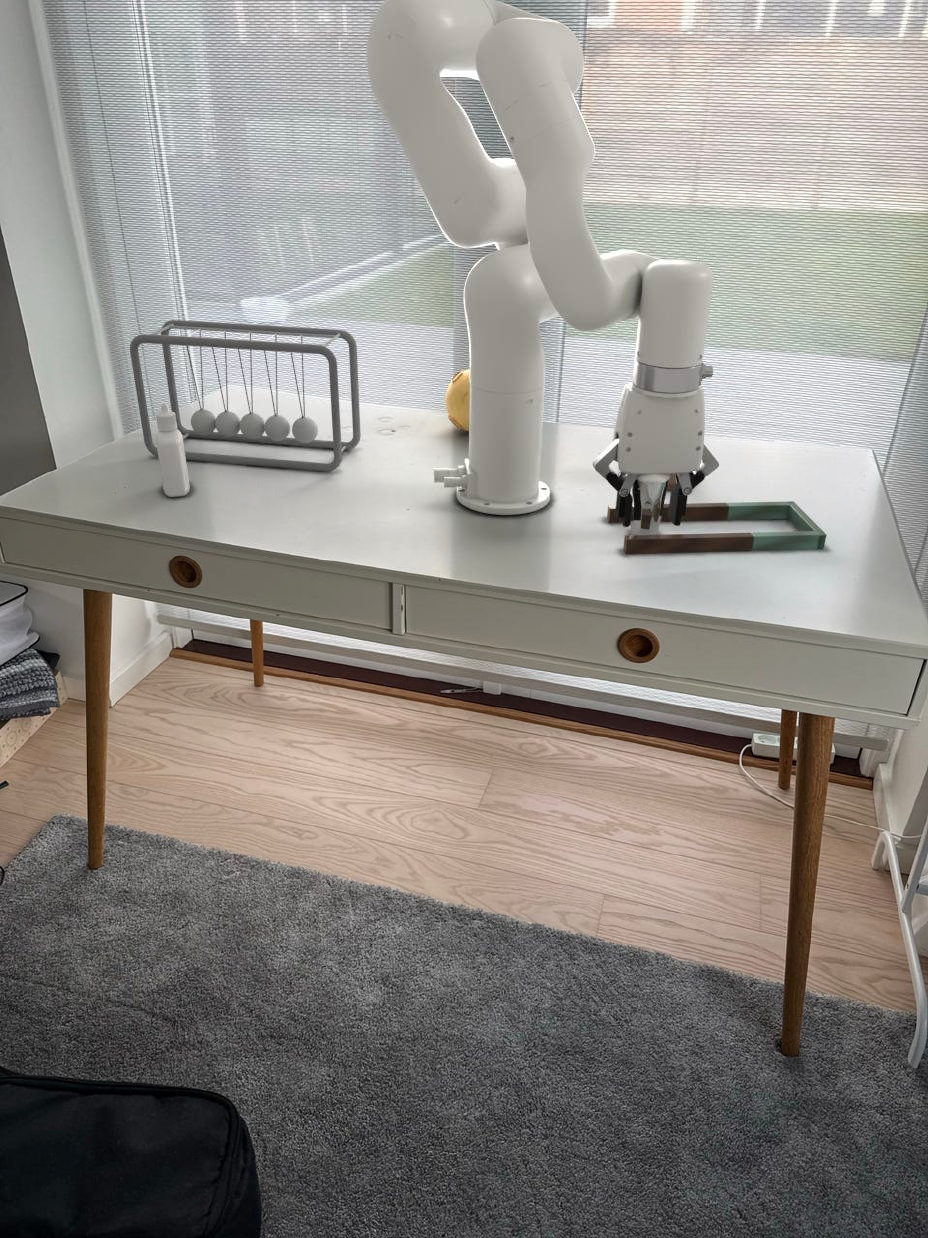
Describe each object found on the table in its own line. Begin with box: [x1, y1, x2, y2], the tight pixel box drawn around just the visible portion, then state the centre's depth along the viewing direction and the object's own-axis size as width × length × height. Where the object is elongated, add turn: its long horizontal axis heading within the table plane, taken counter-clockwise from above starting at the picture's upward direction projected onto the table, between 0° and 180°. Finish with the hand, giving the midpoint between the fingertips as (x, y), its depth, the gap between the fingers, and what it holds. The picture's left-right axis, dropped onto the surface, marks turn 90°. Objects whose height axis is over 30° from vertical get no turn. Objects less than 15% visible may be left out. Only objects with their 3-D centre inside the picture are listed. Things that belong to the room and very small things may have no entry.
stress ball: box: [445, 368, 470, 432], centre depth 150 cm, size 10×10×10 cm
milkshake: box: [630, 474, 671, 535], centre depth 116 cm, size 5×5×10 cm
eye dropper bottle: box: [155, 402, 191, 498], centre depth 126 cm, size 4×6×12 cm
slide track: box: [606, 500, 827, 555], centre depth 118 cm, size 24×10×2 cm, turn 95°
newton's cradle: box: [129, 319, 362, 472], centre depth 137 cm, size 30×10×18 cm, turn 79°
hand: (649, 520), depth 117 cm, fingers open, 5 cm apart
